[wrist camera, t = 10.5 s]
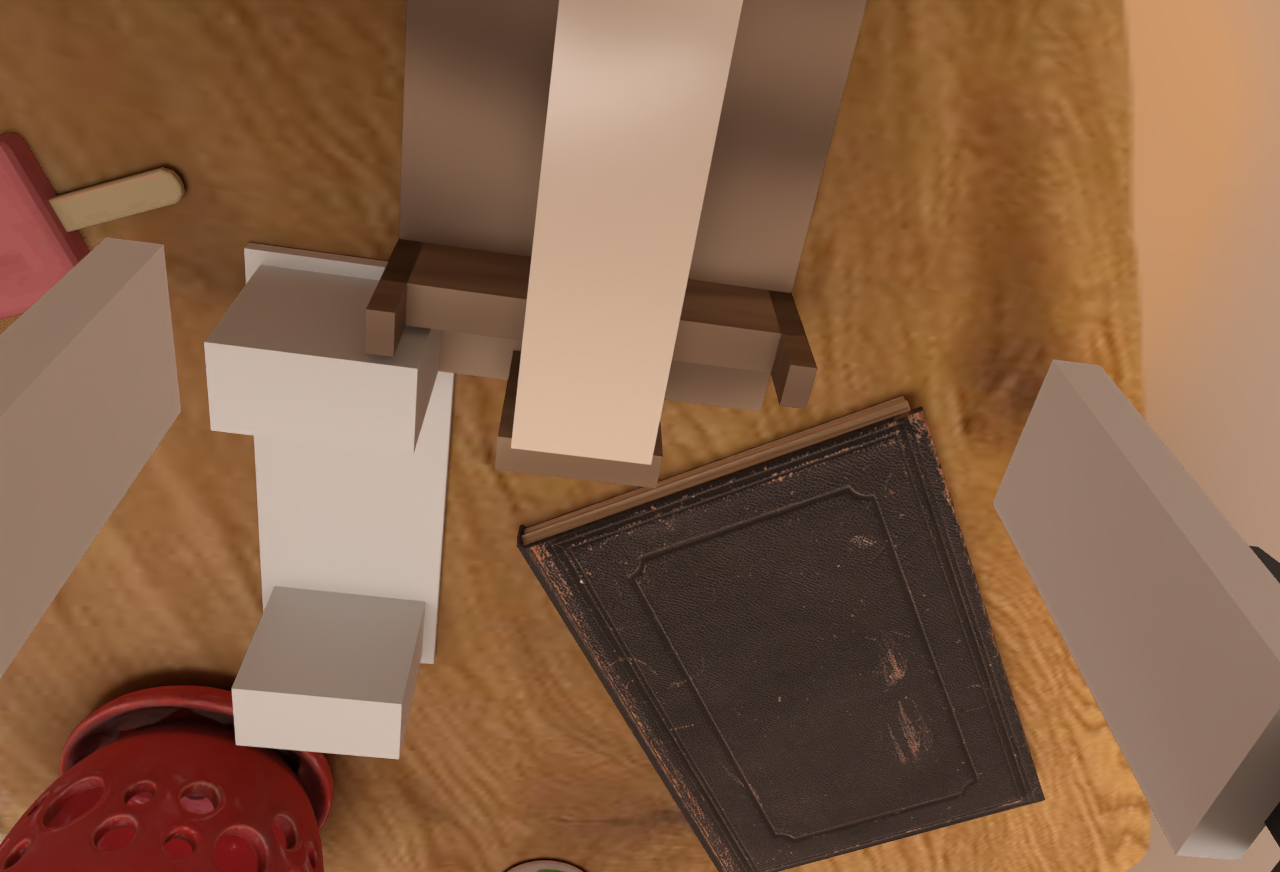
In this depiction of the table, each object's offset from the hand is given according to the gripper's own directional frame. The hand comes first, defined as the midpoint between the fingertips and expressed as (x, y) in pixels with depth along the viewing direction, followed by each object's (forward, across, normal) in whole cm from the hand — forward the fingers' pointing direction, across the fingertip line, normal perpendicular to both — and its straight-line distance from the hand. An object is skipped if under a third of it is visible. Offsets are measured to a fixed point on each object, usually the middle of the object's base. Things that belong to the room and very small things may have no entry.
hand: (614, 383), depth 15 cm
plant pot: (+19, -14, -33) cm, 40 cm away
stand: (+19, -8, -16) cm, 26 cm away
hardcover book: (+19, +11, -23) cm, 32 cm away
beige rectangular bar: (+15, 0, 0) cm, 15 cm away
